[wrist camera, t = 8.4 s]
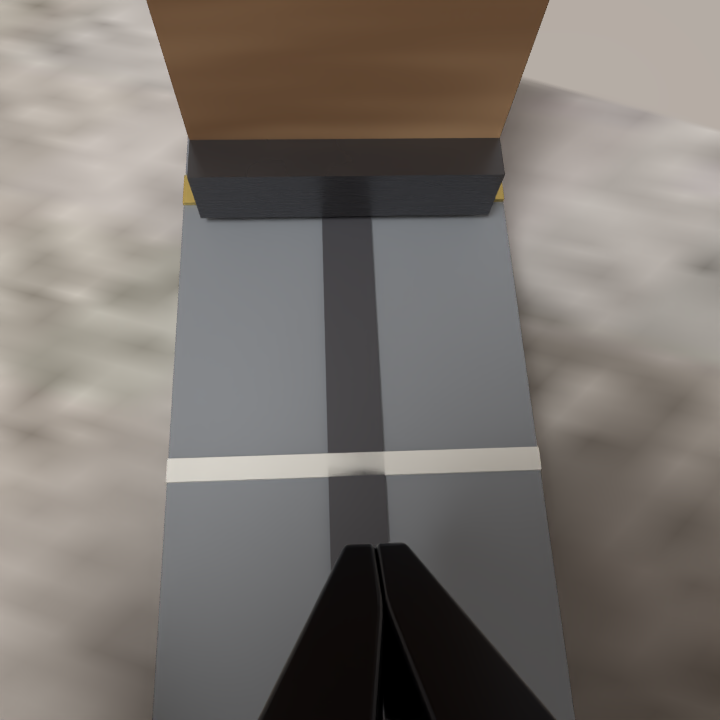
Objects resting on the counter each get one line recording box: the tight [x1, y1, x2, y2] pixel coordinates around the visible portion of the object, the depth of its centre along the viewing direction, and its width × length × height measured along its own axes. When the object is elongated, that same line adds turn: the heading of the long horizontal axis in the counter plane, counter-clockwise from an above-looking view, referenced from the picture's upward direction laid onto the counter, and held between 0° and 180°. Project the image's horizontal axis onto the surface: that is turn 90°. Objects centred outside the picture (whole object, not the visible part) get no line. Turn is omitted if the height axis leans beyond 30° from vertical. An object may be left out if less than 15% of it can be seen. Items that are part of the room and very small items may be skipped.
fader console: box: [152, 137, 575, 720], centre depth 15 cm, size 15×8×2 cm, turn 2°
